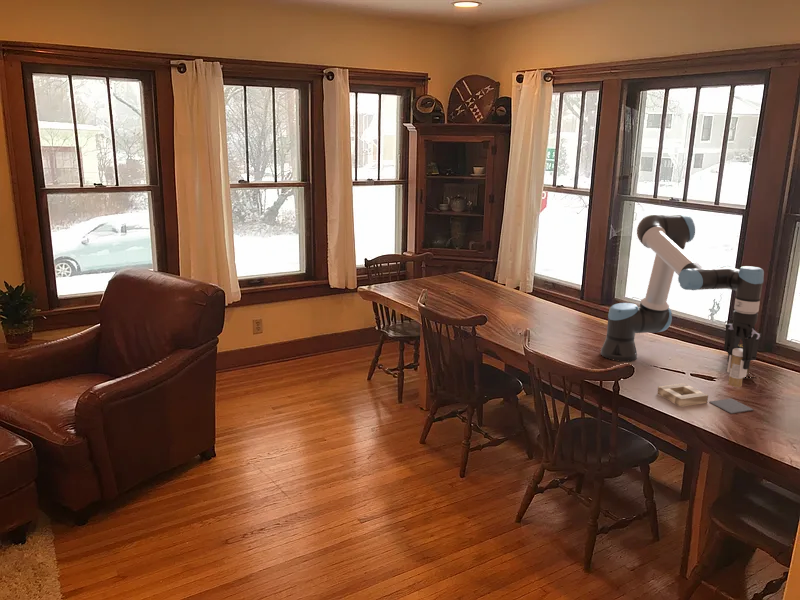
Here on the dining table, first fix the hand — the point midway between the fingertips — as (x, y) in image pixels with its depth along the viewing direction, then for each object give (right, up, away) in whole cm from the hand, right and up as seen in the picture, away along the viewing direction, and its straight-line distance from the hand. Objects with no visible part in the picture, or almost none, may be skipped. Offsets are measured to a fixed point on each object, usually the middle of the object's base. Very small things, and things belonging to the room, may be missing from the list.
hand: (736, 374), depth 220 cm
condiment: (+20, -4, +34) cm, 40 cm away
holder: (-15, -10, +10) cm, 21 cm away
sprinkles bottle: (0, -4, +1) cm, 4 cm away
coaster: (0, -12, +3) cm, 12 cm away
